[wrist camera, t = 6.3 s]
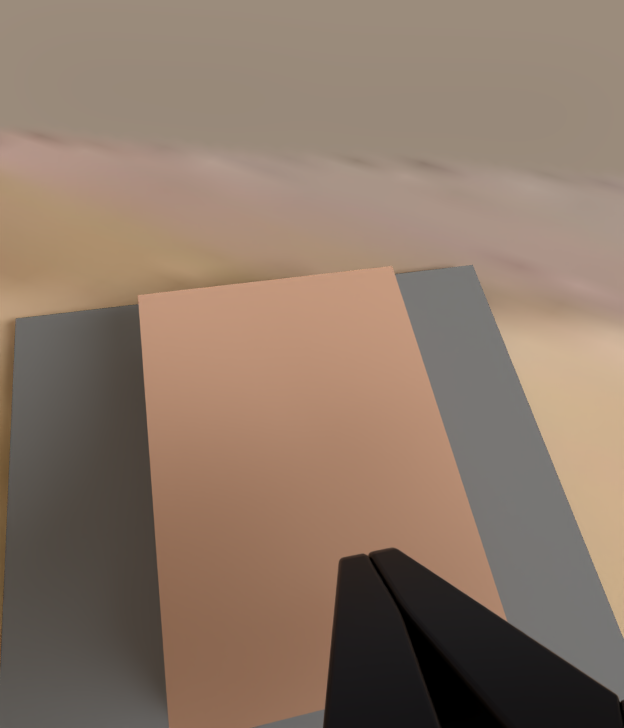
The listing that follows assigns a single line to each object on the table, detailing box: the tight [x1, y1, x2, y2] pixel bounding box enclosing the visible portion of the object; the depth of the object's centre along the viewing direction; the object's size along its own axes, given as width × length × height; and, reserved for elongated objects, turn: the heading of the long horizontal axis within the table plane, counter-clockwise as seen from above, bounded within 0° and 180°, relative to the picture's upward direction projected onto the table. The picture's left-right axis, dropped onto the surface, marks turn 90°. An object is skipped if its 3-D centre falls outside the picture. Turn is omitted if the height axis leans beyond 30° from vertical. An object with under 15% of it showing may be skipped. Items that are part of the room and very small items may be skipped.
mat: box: [0, 265, 624, 728], centre depth 14 cm, size 20×15×1 cm
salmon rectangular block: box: [138, 266, 507, 728], centre depth 14 cm, size 3×7×10 cm
